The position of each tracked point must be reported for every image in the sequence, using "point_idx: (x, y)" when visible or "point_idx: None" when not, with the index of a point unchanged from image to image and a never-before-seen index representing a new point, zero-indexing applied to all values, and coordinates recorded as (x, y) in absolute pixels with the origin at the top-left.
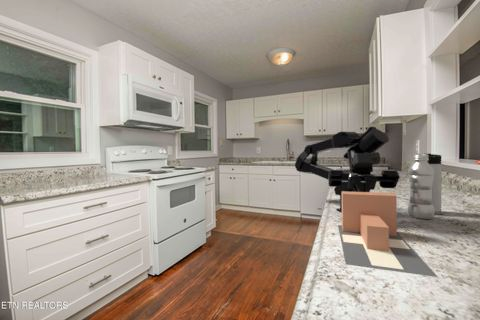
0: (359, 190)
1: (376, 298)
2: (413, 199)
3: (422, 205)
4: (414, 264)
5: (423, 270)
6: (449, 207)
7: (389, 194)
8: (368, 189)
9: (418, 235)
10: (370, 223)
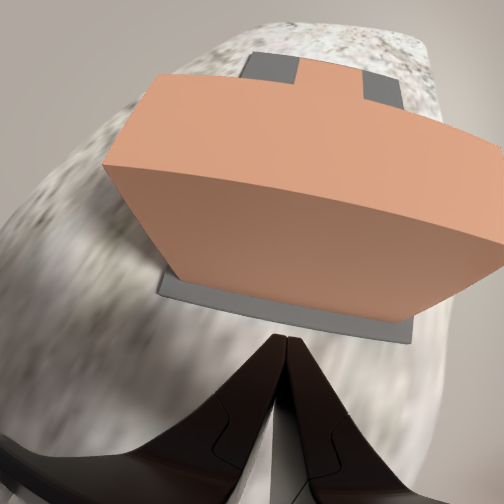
0: (343, 410)
1: (360, 37)
2: None
3: None
4: (267, 73)
5: (264, 61)
6: None
7: (168, 105)
8: (220, 402)
9: (103, 254)
10: (347, 83)
